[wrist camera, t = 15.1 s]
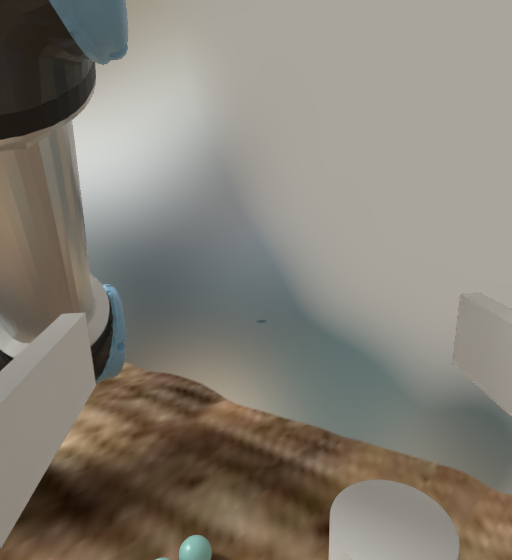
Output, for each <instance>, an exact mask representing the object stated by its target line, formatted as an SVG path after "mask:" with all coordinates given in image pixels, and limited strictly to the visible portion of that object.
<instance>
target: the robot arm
mask: <svg viewBox="0 0 512 560" xmlns="http://www.w3.org/2000/svg"><path fill="white" fill-rule="evenodd" d="M127 41H128V22H127V10H126V0H0V548H2V546H3V544H4V542H5V541H6V539H7V537H8V536H9V534H10V532H11V530H12V529H13V527H14V525H15V524H16V522H17V520H18V518H19V517H20V515H21V513H22V511H23V510H24V508H25V506H26V505H27V503H28V501H29V499H30V498H31V496H32V494H33V493H34V491H35V489H36V487H37V486H38V484H39V482H40V481H41V479H42V477H43V475H44V474H45V472H46V470H47V469H48V467H49V465H50V463H51V462H52V460H53V458H54V456H55V455H56V453H57V451H58V450H59V448H60V446H61V444H62V443H63V441H64V439H65V438H66V436H67V434H68V432H69V431H70V429H71V427H72V426H73V424H74V422H75V420H76V419H77V417H78V415H79V414H80V412H81V410H82V408H83V407H84V405H85V403H86V402H87V400H88V398H89V396H90V395H91V393H92V391H93V389H94V388H95V386H96V384H97V383H99V382H100V381H104V380H107V379H111V378H113V377H115V376H117V375H118V374H119V373H120V371H121V370H122V367H123V365H124V359H125V344H124V342H125V324H124V315H123V309H122V304H121V300H120V297H119V294H118V292H117V290H116V289H115V288H114V287H113V286H112V285H110V284H101V283H100V282H99V281H98V280H97V279H96V278H95V277H94V276H93V275H91V273H90V265H89V257H88V249H87V240H86V233H85V224H84V216H83V208H82V200H81V191H80V183H79V175H78V167H77V159H76V150H75V142H74V135H73V125H72V119H74V118H75V117H76V116H77V115H78V114H79V113H80V112H81V111H82V110H83V109H84V108H85V107H86V106H87V104H88V103H89V101H90V99H91V97H92V95H93V93H94V88H95V84H96V71H95V63H98V64H102V65H104V64H107V63H108V62H109V61H111V60H118V59H121V58H123V56H125V54H126V52H127V50H128V46H127ZM456 327H457V328H456V336H455V345H454V354H453V355H454V356H453V365H454V366H455V367H456V368H457V369H459V370H460V371H461V372H462V373H463V374H464V375H465V376H466V377H468V378H469V379H470V380H471V381H472V382H473V383H474V384H476V386H478V387H479V388H480V389H481V390H482V391H483V392H484V393H486V394H487V395H488V396H489V397H490V398H491V399H492V400H493V401H495V403H497V404H498V405H499V406H500V407H501V408H502V409H503V410H504V411H506V412H507V413H508V414H509V415H510V416H511V417H512V309H511V308H509V307H507V306H505V305H503V304H501V303H499V302H497V301H495V300H493V299H491V298H489V297H487V296H485V295H483V294H482V293H471V294H460V299H459V308H458V317H457V326H456Z"/></svg>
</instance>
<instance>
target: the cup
mask: <svg viewBox="0 0 512 560" xmlns="http://www.w3.org/2000/svg"><path fill="white" fill-rule="evenodd" d="M459 549H460V541H459V535H458V532H457V529H456V527H455V525H454V523H453V521H452V519H451V518H450V516H449V515H448V514H447V512H446V511H445V510H444V509H443V508H442V507H441V506H440V505H439V504H438V503H437V502H436V501H434V500H433V499H432V498H430V497H429V496H427V495H426V494H424V493H423V492H421V491H419V490H417V489H415V488H413V487H410V486H408V485H405V484H402V483H398V482H394V481H388V480H366V481H361V482H358V483H355V484H352V485H350V486H348V487H347V488H345V489H344V490H343V491H341V492H340V493H339V494H338V495H337V497H336V498H335V500H334V502H333V504H332V506H331V510H330V529H329V560H458V557H459Z"/></svg>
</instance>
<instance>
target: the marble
mask: <svg viewBox="0 0 512 560" xmlns="http://www.w3.org/2000/svg"><path fill="white" fill-rule="evenodd" d="M211 557H212V549H211V545H210V543H209V541H208V540H207V539H206V538H205V537H203V536H200V535H193V536H190V537H188V538H187V539H186V540H185V541H184V542H183V543H182V545H181V547H180V551H179V560H211Z"/></svg>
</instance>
